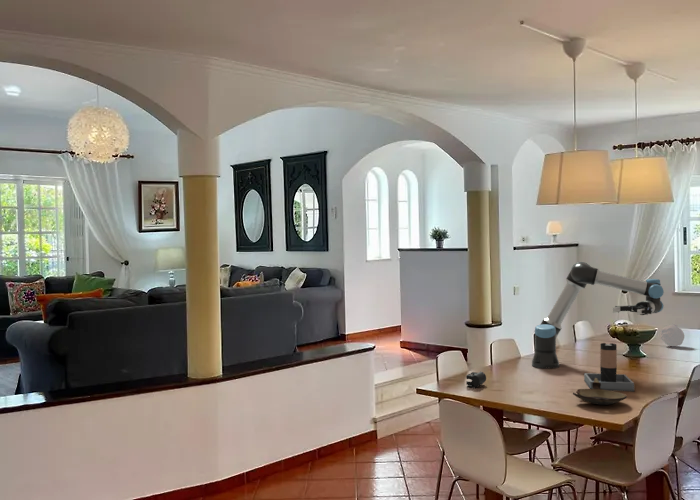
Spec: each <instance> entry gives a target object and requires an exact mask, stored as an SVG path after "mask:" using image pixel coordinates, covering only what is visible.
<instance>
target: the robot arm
mask: <svg viewBox="0 0 700 500" xmlns="http://www.w3.org/2000/svg"><path fill="white" fill-rule="evenodd" d="M565 280H566V284H565V286H564V287H563V289H562V291H561V292H560V295H558V298H557V300H556V301H555V303H554V305H553V307H552V309H551V310H550V312H549V313H548V316H547V317H545V318H543V320H542V321H541V323H540V324H539V325H536V326H535V327H534V354H533V358H532V361H531V366H532V367H534V368H538V369H556V368H560V362H559V359H558V356H557V337H558V336H559V334H560V333H561V330H562V323H563V322H564V320H565V318H566V316H567V315H568V313H569V311H570V309H571V307H572V306H573V304H574V302H575V300H576V299H577V297H578V295H579V293H580V291H581V290H584V289H586V287H587V285H591V286H596V285H599V286H604V287H608V288H612V289H616V290H620V291H623V292H629V293H633V294H636V295H637V294H638V295H642V296H645V300H643V301H642V300H641V301H639V302H637V303H636V304H635V305H615V306H614V307H612V313H620V312H630V313H636V315H637V316H645V315H646V316H648V315H652V314H658V313H660V312H662V311H663V309H664V303H663V302H662V300H661V298H662V297H663V295H664V293H665V292H664V288H663V286H662V285H661V280H660V279H658V278H648V279H645V280H646V281H644V280H641V279H640V280H639V279H635V278H631V277H627V276H622V275H618V274H615V273H610V272H605V271H601V270H600V269H599V268H595V267H594V266H591V265H590V264H588V263H587V262H582V261H578V262H576V263H575V264H573V266H572V267H571V269H570V271H569V273H568V274H567V277H566V278H565Z"/></svg>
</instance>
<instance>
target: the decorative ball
mask: <svg viewBox="0 0 700 500" xmlns="http://www.w3.org/2000/svg"><path fill="white" fill-rule="evenodd" d="M659 333H660V337H659V339H660V340H661V341H662V342H664V344H665V345H667V346H668V347H670V346H676V347H678V346H681V345H682V344H683V343H684V340H685V333H684V330H682V328H680V327H678V325H677V324H673V323H672V324H669V325H666V326H664V327H662V329H661V330H660V332H659Z"/></svg>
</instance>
